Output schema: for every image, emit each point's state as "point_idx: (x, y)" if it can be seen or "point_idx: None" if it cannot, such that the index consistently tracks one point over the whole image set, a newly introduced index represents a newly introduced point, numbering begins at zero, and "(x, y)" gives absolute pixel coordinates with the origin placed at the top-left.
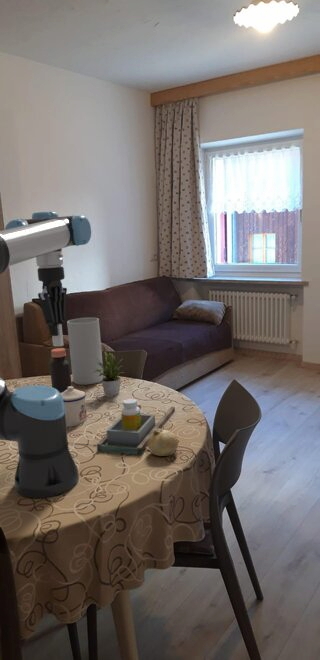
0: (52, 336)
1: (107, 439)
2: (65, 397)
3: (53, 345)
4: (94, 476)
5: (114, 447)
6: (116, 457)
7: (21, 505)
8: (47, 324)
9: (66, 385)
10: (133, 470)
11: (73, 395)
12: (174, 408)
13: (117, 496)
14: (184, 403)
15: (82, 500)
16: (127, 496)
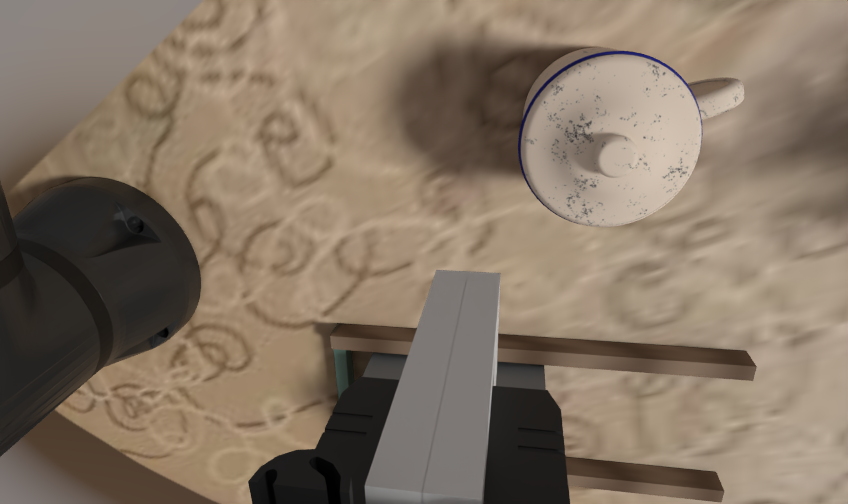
0: (412, 343)
1: (371, 357)
2: (537, 146)
3: (436, 278)
4: (197, 366)
5: (338, 385)
6: (313, 387)
7: None
8: (269, 465)
9: None
10: (260, 444)
11: (562, 187)
12: (715, 498)
13: (143, 439)
14: (832, 501)
15: (96, 377)
16: (153, 457)
